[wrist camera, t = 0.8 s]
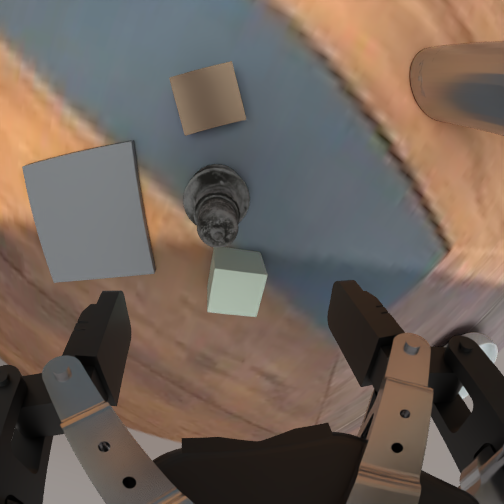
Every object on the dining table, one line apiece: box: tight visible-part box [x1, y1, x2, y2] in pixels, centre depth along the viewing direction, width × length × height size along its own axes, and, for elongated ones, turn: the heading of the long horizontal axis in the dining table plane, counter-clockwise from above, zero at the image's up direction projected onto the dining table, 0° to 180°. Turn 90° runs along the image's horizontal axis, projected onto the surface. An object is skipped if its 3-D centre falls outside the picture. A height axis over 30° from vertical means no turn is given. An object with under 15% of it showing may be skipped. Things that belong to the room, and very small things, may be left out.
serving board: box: [22, 140, 156, 283], centre depth 29 cm, size 13×14×1 cm
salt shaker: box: [183, 164, 250, 248], centre depth 25 cm, size 6×6×12 cm
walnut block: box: [169, 61, 246, 136], centre depth 24 cm, size 5×5×5 cm
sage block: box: [207, 247, 267, 317], centre depth 32 cm, size 5×5×5 cm
